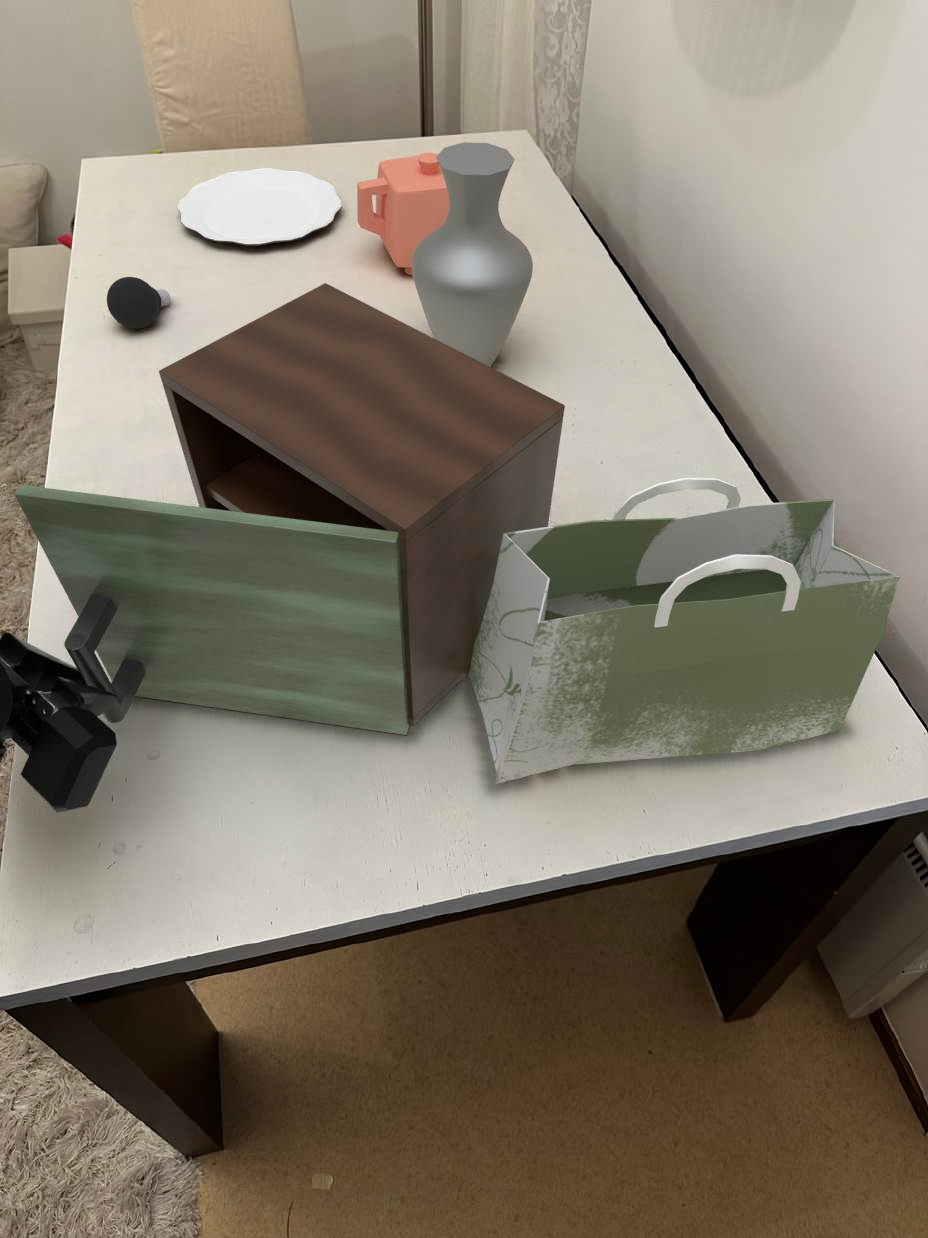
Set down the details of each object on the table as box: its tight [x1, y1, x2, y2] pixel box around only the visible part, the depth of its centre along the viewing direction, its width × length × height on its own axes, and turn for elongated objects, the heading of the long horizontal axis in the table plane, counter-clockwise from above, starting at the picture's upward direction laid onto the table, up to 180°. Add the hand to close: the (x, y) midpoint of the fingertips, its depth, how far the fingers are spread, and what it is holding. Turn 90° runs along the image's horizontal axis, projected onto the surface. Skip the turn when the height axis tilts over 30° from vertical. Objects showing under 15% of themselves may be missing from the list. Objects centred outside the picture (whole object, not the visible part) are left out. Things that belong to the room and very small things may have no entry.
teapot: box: [356, 152, 449, 276], centre depth 121 cm, size 22×13×14 cm, turn 108°
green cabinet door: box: [13, 484, 410, 736], centre depth 64 cm, size 6×26×24 cm, turn 81°
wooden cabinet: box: [158, 282, 566, 726], centre depth 75 cm, size 18×26×24 cm
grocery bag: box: [468, 477, 901, 785], centre depth 68 cm, size 32×14×23 cm, turn 100°
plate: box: [176, 167, 343, 247], centre depth 133 cm, size 25×25×2 cm
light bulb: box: [106, 276, 172, 330], centre depth 112 cm, size 6×6×10 cm
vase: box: [412, 141, 534, 368], centre depth 100 cm, size 14×14×25 cm
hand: (104, 692), depth 67 cm, fingers closed
